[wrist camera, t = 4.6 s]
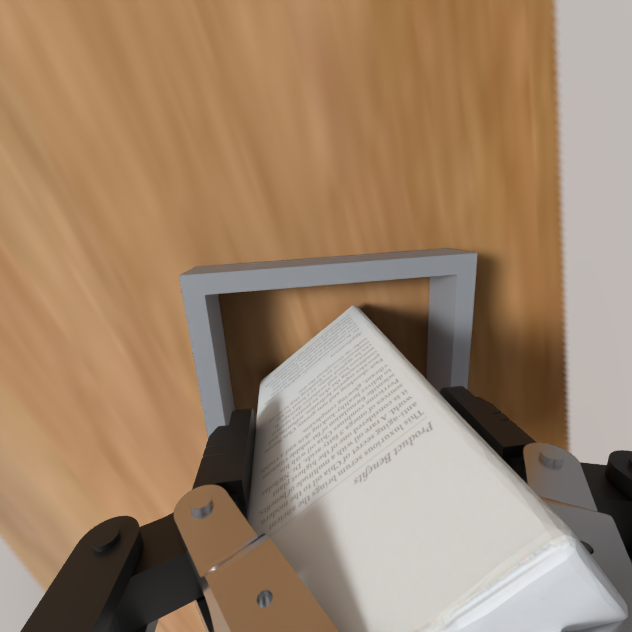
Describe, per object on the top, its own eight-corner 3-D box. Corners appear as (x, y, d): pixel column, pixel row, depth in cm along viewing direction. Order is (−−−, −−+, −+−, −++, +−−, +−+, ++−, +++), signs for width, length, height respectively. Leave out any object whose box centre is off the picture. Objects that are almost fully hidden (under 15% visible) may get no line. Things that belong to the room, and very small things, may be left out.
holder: (195, 266, 15) (179, 275, 12) (447, 248, 16) (477, 252, 13) (230, 481, 18) (223, 522, 15) (436, 455, 19) (460, 488, 16)
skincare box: (314, 434, 17) (384, 860, 6) (258, 379, 16) (206, 783, 5) (407, 361, 17) (690, 678, 5) (355, 299, 15) (576, 532, 4)
